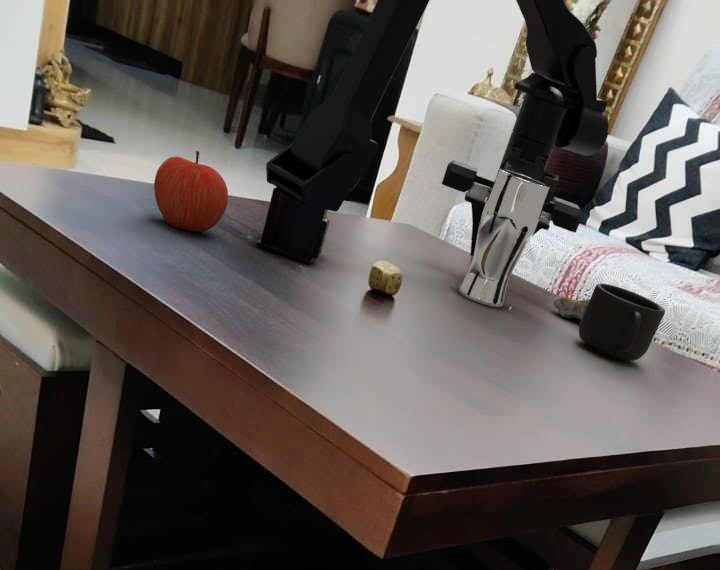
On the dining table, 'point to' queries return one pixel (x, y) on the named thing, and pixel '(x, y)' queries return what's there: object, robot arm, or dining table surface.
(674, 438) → the dining table surface
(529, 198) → the silver metal vase
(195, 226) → the apple
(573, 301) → the rock
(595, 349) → the mug
